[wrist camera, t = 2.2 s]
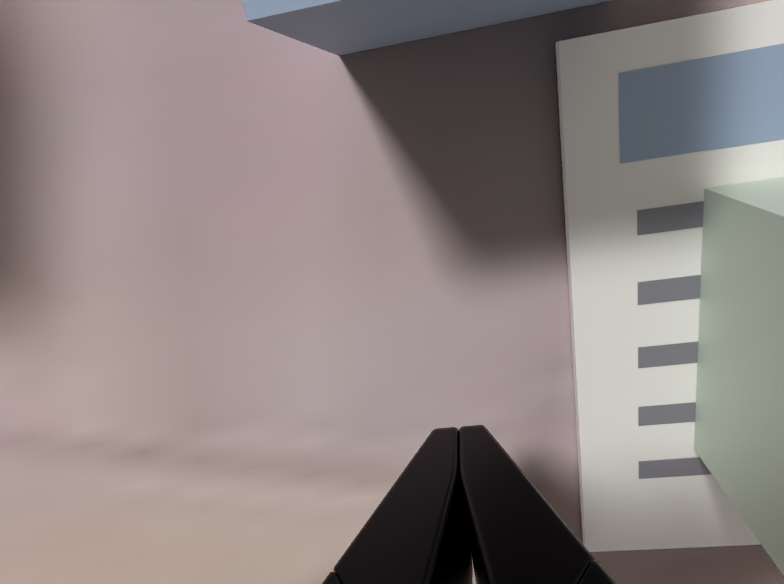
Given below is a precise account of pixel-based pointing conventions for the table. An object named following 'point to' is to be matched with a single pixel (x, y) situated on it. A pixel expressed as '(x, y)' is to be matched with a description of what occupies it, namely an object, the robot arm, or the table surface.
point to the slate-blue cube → (389, 19)
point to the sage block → (744, 353)
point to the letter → (655, 254)
